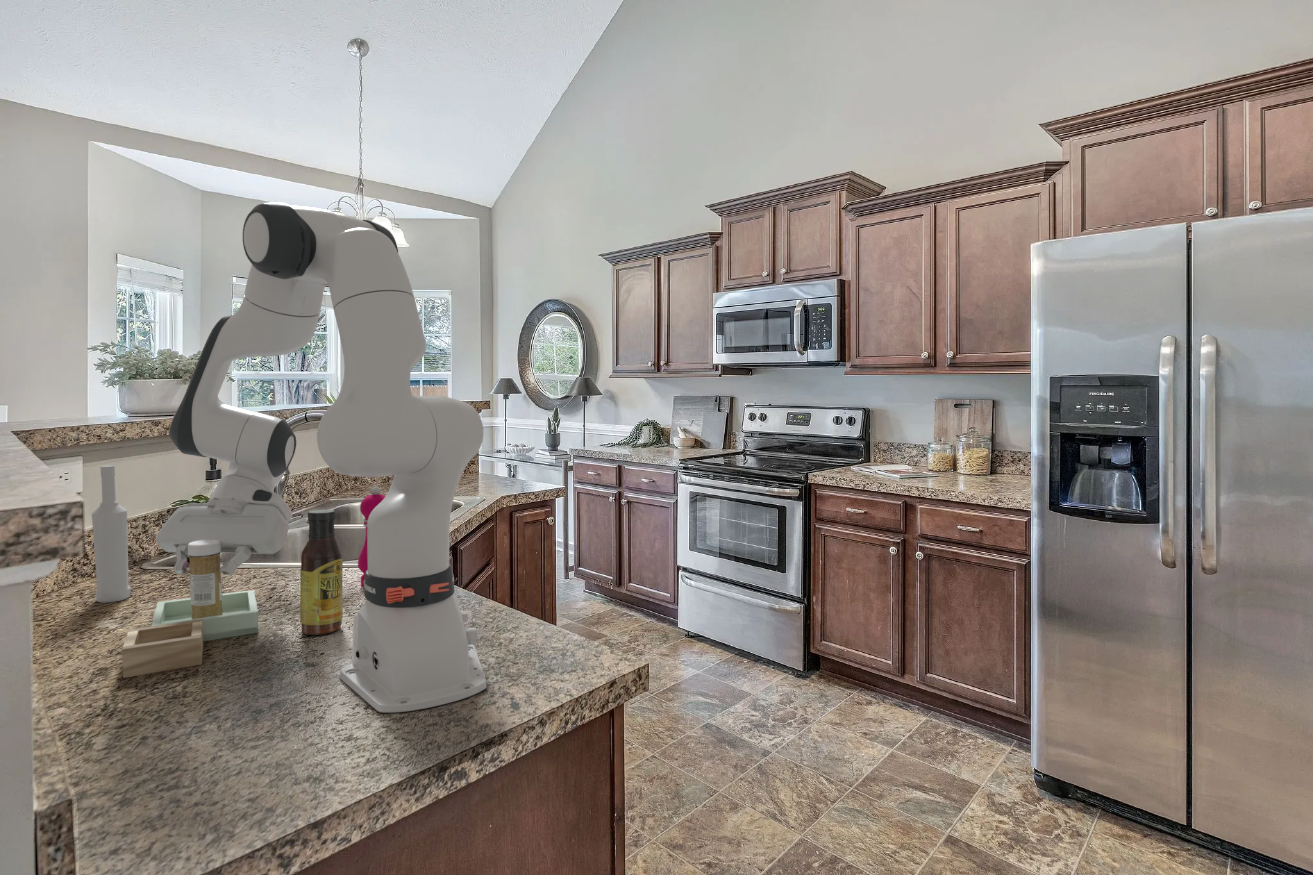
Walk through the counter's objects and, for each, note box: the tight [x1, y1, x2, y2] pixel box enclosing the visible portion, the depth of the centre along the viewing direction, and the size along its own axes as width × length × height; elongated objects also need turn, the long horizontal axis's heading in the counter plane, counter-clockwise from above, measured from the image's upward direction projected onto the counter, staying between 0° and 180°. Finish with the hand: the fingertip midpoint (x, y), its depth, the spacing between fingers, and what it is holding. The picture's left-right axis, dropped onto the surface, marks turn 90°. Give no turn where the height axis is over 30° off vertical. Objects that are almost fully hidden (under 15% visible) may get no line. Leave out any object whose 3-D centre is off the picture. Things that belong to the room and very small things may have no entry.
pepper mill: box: [357, 486, 386, 588], centre depth 139 cm, size 7×7×20 cm
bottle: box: [91, 465, 131, 604], centre depth 127 cm, size 5×5×25 cm
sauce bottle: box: [299, 509, 344, 636], centre depth 112 cm, size 6×6×20 cm
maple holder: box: [121, 619, 204, 679], centre depth 100 cm, size 9×9×4 cm
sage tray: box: [150, 589, 259, 642], centre depth 113 cm, size 14×14×4 cm
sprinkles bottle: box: [188, 540, 223, 619], centre depth 113 cm, size 5×5×14 cm
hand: (202, 572), depth 112 cm, fingers open, 6 cm apart
